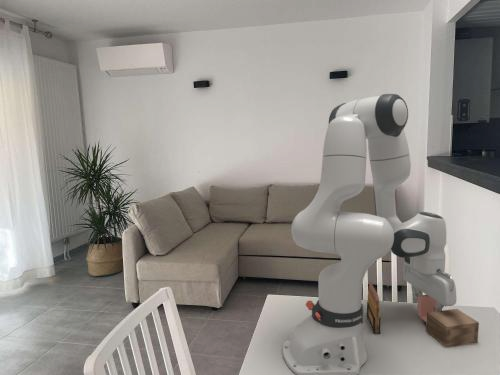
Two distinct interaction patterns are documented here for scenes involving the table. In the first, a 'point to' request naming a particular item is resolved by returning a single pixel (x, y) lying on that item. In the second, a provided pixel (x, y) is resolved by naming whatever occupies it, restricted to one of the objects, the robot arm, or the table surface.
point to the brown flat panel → (373, 310)
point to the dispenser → (452, 327)
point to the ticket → (425, 306)
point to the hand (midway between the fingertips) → (426, 305)
